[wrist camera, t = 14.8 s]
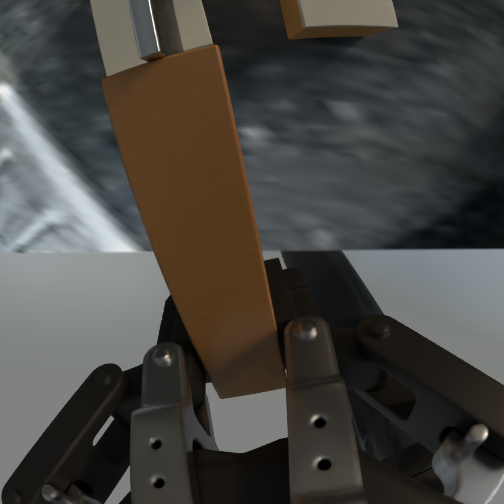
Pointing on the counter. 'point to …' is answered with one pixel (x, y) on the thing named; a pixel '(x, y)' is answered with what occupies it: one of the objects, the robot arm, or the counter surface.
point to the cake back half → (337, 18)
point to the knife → (196, 200)
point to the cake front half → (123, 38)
